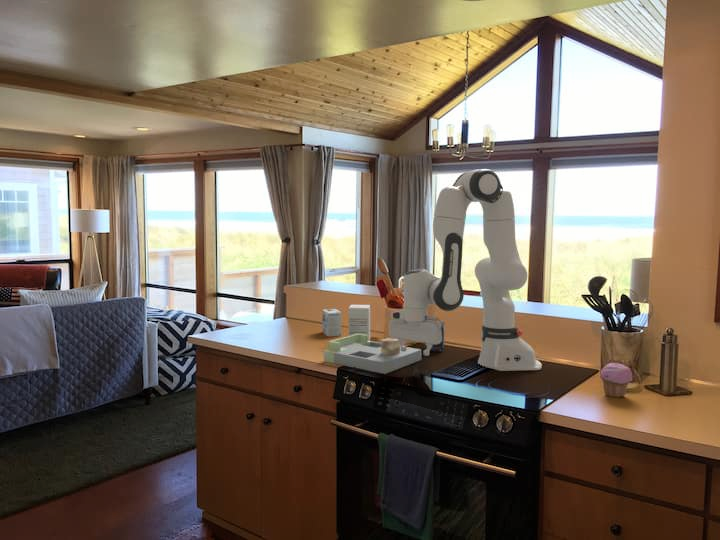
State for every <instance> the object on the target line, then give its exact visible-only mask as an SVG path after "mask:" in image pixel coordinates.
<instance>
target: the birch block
mask: <svg viewBox="0 0 720 540" xmlns="http://www.w3.org/2000/svg"><path fill="white" fill-rule="evenodd" d="M380 343H381V354H386V355H391V356H393V355H396V354H399V353H400V345H399V343H398V339H397V338H391V337H387V338H384V339H381V340H380Z"/></svg>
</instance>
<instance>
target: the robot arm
mask: <svg viewBox="0 0 720 540" xmlns="http://www.w3.org/2000/svg"><path fill="white" fill-rule="evenodd" d="M471 203H479V204H480V206H481V208H482V222H483V224H482V226H483V227H482V228H483V244H484V245H485V247H486V249H487V251H488V255H489V257H485V258H482V259H480V260H479V261H477V263H476V264H475V266H474V275H475V278H476V280H477V282H478V283H479V288H480V294H481V298H482V306H483V307H482V309H483V312H482V313H483V317H482V318H483V321H482V322H483V323H482V325H481V333H480V335H481V349H480V354H479V357H478V360H477V363H478V365H479V364H480V366H481V365H482V367H484V366H485V367H484V368H489V369H493V370H496V371H498V372H499V371H500V372H501V371H502V372H504V371H505V372H509V371H512V372H515V371H516V372H517V371H539V370H542V367H543V365H542V362H540V361H539V360H538V359H537V357H536V353H535V350H534V348H533V347H532V346H531V345H529V343H528V342H526V341H525V340H524V339H522V338H521V336H523V329H522V330H521V329H520V328H519V327H516V326H515V310H516V309H515V308H516V307H515V306H516V305H515V303H514V302H513V300H512V297H511V294H510V291H516V290H520V289H522V288H523V287H524V286H525V285H526V283H527V281H528V271H527V268H526V266H525V265H524V264H523V261H522V259H521V257H520V254H519V251H518V250H519V249H518V247H517V246H518V245H517V240H516V219H515V215H516V214H515V206H514V205H515V204H514V201H513V195H512V193H511V192H510V191H509V190H508V189H505V188H504V187H503V186H502V184H501V179H500V177H499V176H498V174H497V173H496V172H495V171H494V170H491V169H487V168H482V169H473V170H469V171H468V172H464V173H462V174H460V175H459V176H458V177H457V178H456V180H455V182H454V183H453V184H452V186H446V187H444V188H442V189H441V190H440V191H439V194H438V197H437V200H436V203H435V204H436V205H435V209H434V214H433V222H432V231H433V236H434V239H435V240H436V241H437V242H438V244H439V246H440V248H441V252H442V265H441V267H442V268H441V276H437V275H436V274H433V273H431V272H430V271H428V270H427V269H426V268H415V269H410V270H408V271H407V272H405V274H404V277H403V285H402V287H403V289H402V295H403V304H402V309H399V310H395V311H393V312H390V318H391V319H390V321H389V327H388V334H389V336H390V337H389V338H393V339H398V343H399V345H400V346H401V351H403V352H405V351H407V349H406V348H407V347H408V346H407V345H405V343H404V342H405V341H410V342H415V343H423V344H425V346H426V349H424V350H423V353H422V355H423V356H426V357H428V356H430V352H431V351H430V349H431V347H432V346H433V344H435V345H436V344H439V343H441V341H442V331H441V322H442V321H441V319H439V318H438V317H436V316H434V317H433V316H429V305H430V304H433V305H435V306H437V307H438V308H439V309H440V310H442V311H445V312H449V311H454V310H456V309H457V308H459V307H460V306H461V304H462V303H463V301H464V297H465V296H464V290H463V285H462V280H461V279H462V278H461V276H462V275H461V274H462V264H463V263H462V262H463V244H464V243H463V242H464V233H465V226H466V217H467V211H468V208H469V205H470V204H471ZM427 346H428V347H427Z"/></svg>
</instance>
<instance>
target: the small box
mask: <svg viewBox="0 0 720 540" xmlns="http://www.w3.org/2000/svg"><path fill="white" fill-rule="evenodd" d="M445 325H446V324H445V322H444V321H441V331H442V341H441V343H439V344H436V345H435V344H433V346H432V347H431V349H430V351H429V352H437V353H438V352H439V353H440V352H441V353H442V352H443V351H444V347H445V331H446V329H445V327H446V326H445ZM427 347H428V346H426V348H427Z"/></svg>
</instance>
